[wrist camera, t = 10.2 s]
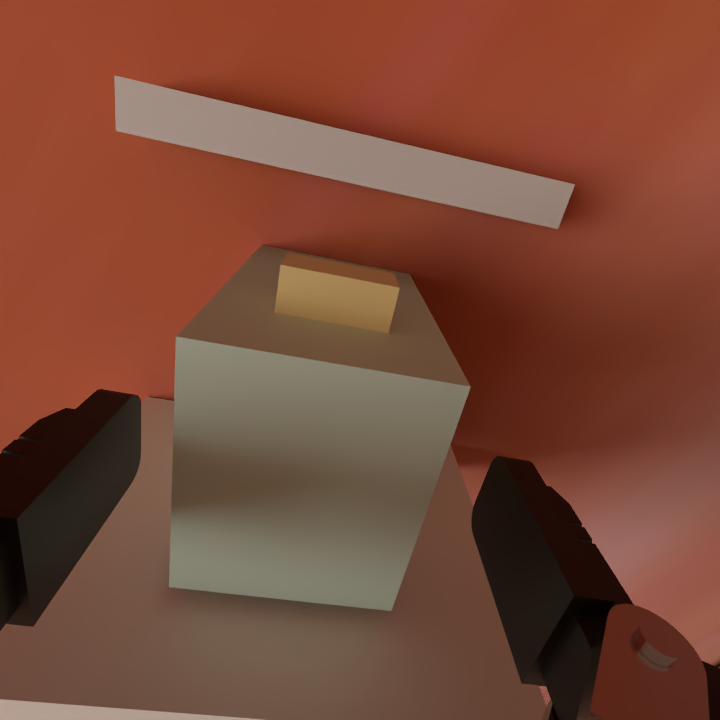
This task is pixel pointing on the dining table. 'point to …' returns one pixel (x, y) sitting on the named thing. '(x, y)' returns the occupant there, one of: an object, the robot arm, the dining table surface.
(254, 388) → the cabinet block
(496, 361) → the dining table surface
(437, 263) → the dining table surface
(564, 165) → the dining table surface
